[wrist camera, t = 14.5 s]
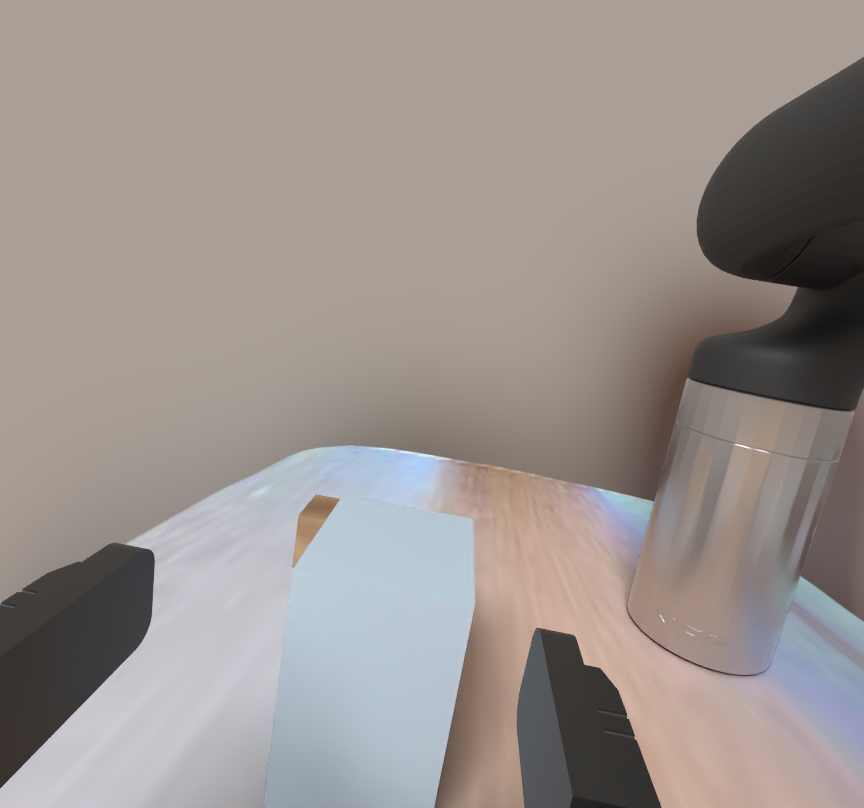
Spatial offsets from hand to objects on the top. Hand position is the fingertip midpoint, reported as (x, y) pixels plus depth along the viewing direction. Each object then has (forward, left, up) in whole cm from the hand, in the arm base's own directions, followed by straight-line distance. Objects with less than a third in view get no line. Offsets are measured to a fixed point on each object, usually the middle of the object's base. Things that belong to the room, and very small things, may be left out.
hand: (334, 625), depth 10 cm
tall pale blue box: (-8, -5, -13) cm, 16 cm away
